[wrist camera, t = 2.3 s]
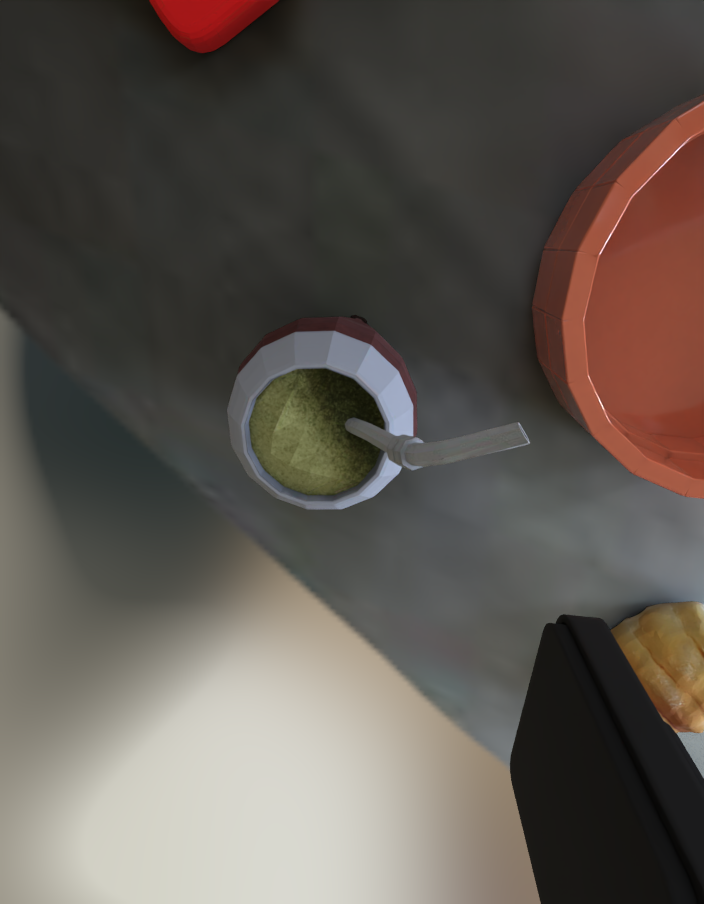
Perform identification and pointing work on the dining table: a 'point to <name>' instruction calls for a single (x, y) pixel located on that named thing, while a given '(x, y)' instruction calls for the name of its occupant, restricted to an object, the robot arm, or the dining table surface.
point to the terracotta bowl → (633, 302)
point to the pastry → (669, 660)
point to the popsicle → (208, 20)
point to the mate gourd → (336, 415)
